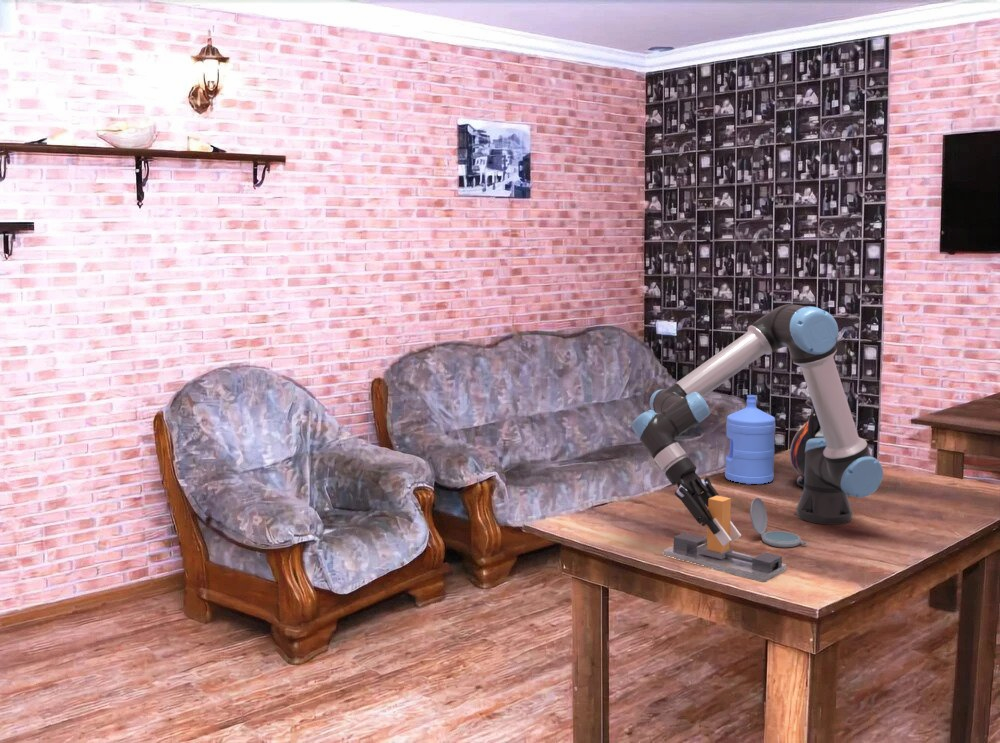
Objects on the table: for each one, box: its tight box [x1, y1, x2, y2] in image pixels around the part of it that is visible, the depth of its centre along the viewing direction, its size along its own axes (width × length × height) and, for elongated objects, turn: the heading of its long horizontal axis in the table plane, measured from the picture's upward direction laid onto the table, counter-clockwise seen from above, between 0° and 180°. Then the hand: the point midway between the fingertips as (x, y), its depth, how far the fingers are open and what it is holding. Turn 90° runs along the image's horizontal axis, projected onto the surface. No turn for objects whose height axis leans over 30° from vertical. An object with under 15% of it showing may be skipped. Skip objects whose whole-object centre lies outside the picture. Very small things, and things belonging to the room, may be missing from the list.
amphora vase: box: [789, 398, 824, 489], centre depth 315 cm, size 22×22×28 cm
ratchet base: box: [662, 532, 787, 583], centre depth 245 cm, size 28×11×4 cm, turn 47°
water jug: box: [724, 394, 776, 485], centre depth 325 cm, size 16×16×28 cm
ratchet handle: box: [697, 495, 776, 567], centre depth 242 cm, size 20×5×14 cm, turn 47°
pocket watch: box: [749, 497, 810, 548], centre depth 261 cm, size 10×11×15 cm
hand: (732, 540), depth 243 cm, fingers closed on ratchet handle, 4 cm apart
